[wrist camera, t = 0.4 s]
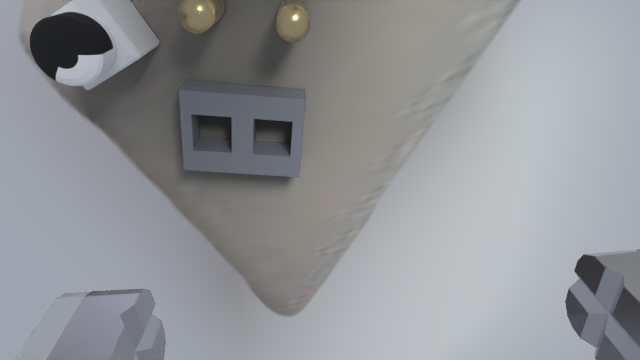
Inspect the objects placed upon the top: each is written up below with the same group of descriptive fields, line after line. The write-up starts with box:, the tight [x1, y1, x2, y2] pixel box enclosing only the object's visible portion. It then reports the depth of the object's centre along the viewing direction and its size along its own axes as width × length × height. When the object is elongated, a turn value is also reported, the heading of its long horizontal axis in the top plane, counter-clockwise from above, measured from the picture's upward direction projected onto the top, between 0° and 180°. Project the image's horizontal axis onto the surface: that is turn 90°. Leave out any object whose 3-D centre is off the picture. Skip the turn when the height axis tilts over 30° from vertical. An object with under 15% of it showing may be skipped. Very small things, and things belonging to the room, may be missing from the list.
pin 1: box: [178, 0, 225, 34], centre depth 42 cm, size 3×3×8 cm
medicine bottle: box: [30, 0, 160, 90], centre depth 41 cm, size 7×7×12 cm
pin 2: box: [276, 0, 309, 42], centre depth 43 cm, size 3×3×8 cm
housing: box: [178, 80, 305, 177], centre depth 51 cm, size 14×10×4 cm
